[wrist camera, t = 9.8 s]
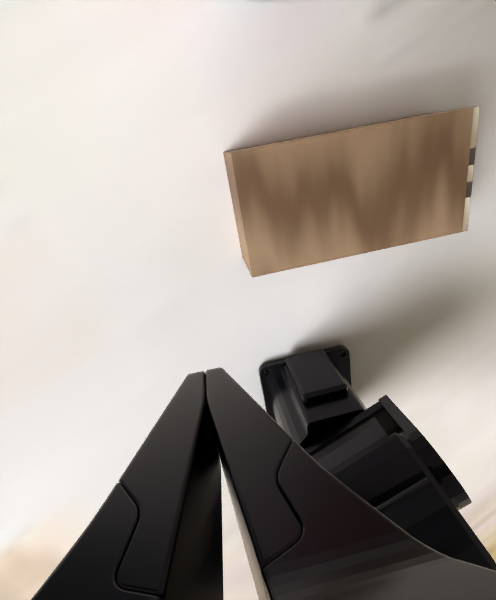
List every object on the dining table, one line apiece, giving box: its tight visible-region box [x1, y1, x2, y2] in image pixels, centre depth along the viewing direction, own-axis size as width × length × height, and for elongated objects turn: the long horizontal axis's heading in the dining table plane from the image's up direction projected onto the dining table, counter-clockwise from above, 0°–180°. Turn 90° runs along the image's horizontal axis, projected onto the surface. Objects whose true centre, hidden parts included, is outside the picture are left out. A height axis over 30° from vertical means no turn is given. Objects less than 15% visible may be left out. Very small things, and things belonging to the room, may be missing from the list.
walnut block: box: [223, 106, 480, 277], centre depth 19 cm, size 6×4×12 cm
